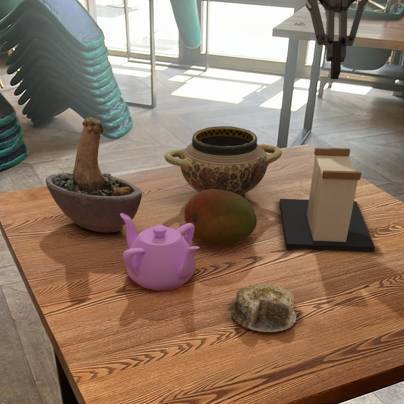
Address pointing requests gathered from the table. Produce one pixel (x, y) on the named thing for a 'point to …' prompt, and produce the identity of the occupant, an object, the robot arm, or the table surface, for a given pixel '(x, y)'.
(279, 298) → the cake
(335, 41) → the robot arm
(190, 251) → the teapot
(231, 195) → the fruit
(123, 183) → the planter
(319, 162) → the cream rectangular block
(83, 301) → the table surface
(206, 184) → the ceramic bowl
